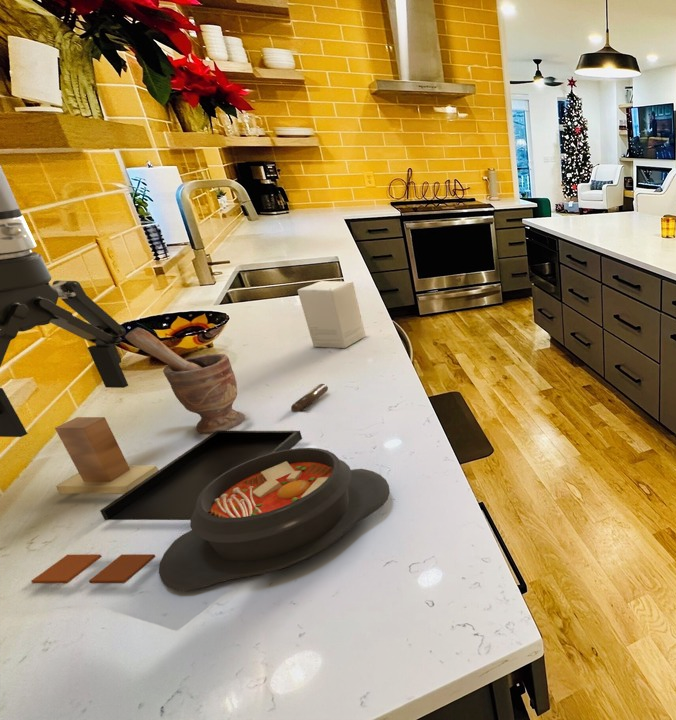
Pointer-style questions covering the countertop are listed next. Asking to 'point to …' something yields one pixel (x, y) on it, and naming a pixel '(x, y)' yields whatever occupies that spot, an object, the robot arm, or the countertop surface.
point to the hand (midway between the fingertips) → (70, 409)
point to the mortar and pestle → (197, 382)
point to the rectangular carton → (332, 313)
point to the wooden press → (97, 459)
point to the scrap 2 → (122, 568)
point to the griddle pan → (201, 470)
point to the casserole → (270, 516)
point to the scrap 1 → (66, 568)
